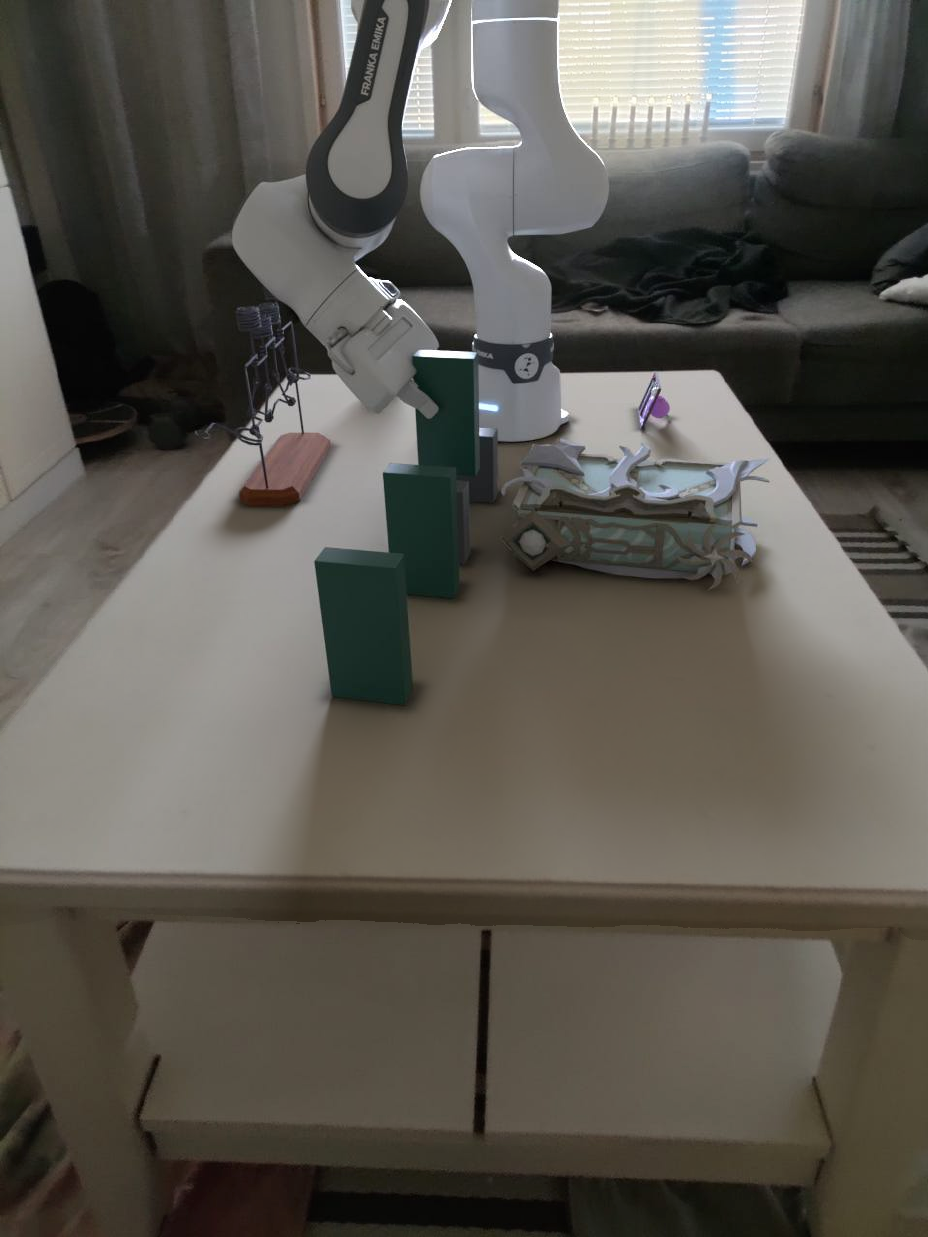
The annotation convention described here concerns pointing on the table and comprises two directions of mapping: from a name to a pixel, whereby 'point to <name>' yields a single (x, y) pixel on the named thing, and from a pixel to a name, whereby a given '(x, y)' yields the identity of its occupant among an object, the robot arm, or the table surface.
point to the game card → (653, 402)
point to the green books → (389, 585)
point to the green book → (449, 410)
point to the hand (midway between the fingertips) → (440, 407)
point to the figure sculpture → (292, 453)
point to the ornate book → (631, 513)
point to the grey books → (477, 487)
